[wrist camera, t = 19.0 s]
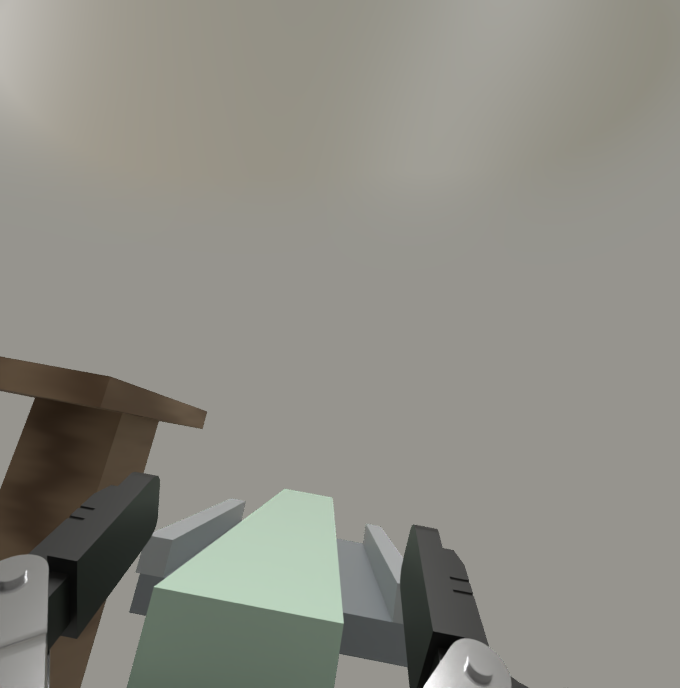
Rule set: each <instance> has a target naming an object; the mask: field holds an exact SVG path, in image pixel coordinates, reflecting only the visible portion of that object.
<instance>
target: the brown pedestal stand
mask: <svg viewBox="0 0 680 688" xmlns="http://www.w3.org/2000/svg"><path fill="white" fill-rule="evenodd" d="M0 391H4V392H9V393H14V394H19V395H24V396H29V397H34V398H35V400H34V402H33V405H32V408H31V410H30V413H29V415H28V418H27V421H26V423H25V426H24V429H23V431H22V434H21V437H20V439H19V442H18V444H17V447H16V449H15V452H14V455H13V457H12V460H11V463H10V465H9V468H8V470H7V473H6V476H5V478H4V481H3V484H2V486H1V489H0V561H1V560H4V559H7V558H10V557H13V556H18V555H26V554H29V553H30V552H31V551H32V550H33V549H34V548H35V547H36V546H37V545H38V544H39V543H41V542H42V541H43V540H44V539H45V538H46V537H47V536H48V535H49V534H50V533H51V532H53V531H54V530H55V529H56V528H57V527H58V526H59V525H60V524H61V523H62V522H63V521H64V520H66V519H67V518H69V517H70V515H71V514H72V513H73V512H74V511H75V510H76V509H78V508H80V506H81V505H82V504H83V503H84V502H85V501H86V500H87V499H88V498H90V497H91V496H92V495H93V494H94V493H96V492H98V491H100V490H102V489H104V488H106V487H108V486H110V485H114V486H119V485H120V484H121V483H122V482H123V481H124V480H125V479H126V478H127V477H128V476H129V475H130V474H131V473H132V472H139V473H144V469H145V466H146V463H147V459H148V456H149V452H150V449H151V446H152V442H153V439H154V435H155V432H156V428H157V425H158V422H159V421H162V422H167V423H173V424H178V425H184V426H190V427H195V428H200V429H202V428H203V425H204V421H205V417H206V414H207V412H206V411H204V410H201V409H199V408H196V407H193V406H190V405H188V404H185V403H182V402H179V401H176V400H173V399H171V398H168V397H165V396H162V395H160V394H157V393H154V392H152V391H149V390H146V389H143V388H140V387H137V386H135V385H132V384H129V383H127V382H124V381H121V380H118V379H116V378H113V377H109V376H104V375H98V374H93V373H88V372H81V371H76V370H71V369H65V368H60V367H55V366H49V365H44V364H38V363H33V362H27V361H22V360H16V359H11V358H5V357H0ZM105 602H106V600H105V601H104V603H103V604H102V605H101V607H100V608H99V610H98V611H97V612H96V614H95V615H94V616H93V618H92V619H91V621H90V622H89V623H88V625H87V626H86V627H85V629H84V630H83V631H82V633H81V634H80V636H79V637H78V638H77V639H74V638H69V637H64V636H60V637H59V638H58V639H57V641H56V642H55V643H54V645H53V646H52V647H51V648H50V688H80V687H81V683H82V680H83V677H84V673H85V670H86V666H87V663H88V659H89V656H90V653H91V649H92V646H93V643H94V639H95V636H96V632H97V629H98V626H99V622H100V619H101V615H102V612H103V608H104V605H105Z"/></svg>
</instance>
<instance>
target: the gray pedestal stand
mask: <svg viewBox="0 0 680 688" xmlns="http://www.w3.org/2000/svg"><path fill="white" fill-rule="evenodd" d="M244 507H245V501H243V500H237V499H232V498H231V499H229V500H227V501H224V502H222V503H220V504H217V505H215V506H213V507H210V508H208V509H206V510H203V511H201V512H199V513H196V514H194V515H192V516H189V517H187V518H185V519H183V520H180V521H178V522H175V523H173V524H171V525H168V526H166V527H164V528H161V529H159V530H157V531H154V532H153V534H152V536H151V538H150V540H149V541H148V543H147V544H146V545H145V547H144V548H143V549H142V551H141V555H140V559H139V562H138V566H137V569H136V573H140V576H139V579H138V583H137V587H136V590H135V593H134V597H133V601H132V604H131V608H130V611H129V612H130V613H135V614H140V615H145V616H146V614H147V610H148V607H149V603H150V599H151V596H152V592H153V588H154V586H156V585H157V584H158V583H160V582H161V581H162V580H164V579H165V578H166V577H168V576H169V575H170V574H172V573H173V572H174V571H176V570H177V569H178V568H180V567H181V566H182V565H184V564H185V563H186V562H188V561H189V560H190V559H192V558H193V557H194V556H196V555H197V554H198V553H200V552H201V551H203V550H204V549H205V548H207V547H208V546H209V545H211V544H212V543H213V542H215V541H216V540H217V539H219V538H220V537H221V536H223V535H224V534H225V533H227V532H228V531H229V530H231V529H232V528H233V527H235V526H236V525H237V524H239V523H240V522H241V520H242V515H243V511H244ZM336 541H337V552H338V564H339V575H340V586H341V598H342V609H343V621H344V625H343V632H342V638H341V645H340V652H339V654H343V655H349V656H354V657H359V658H364V659H369V660H374V661H379V662H384V663H389V664H395V665H399V666H404V667H408V665H407V655H406V644H405V634H404V624H403V613H402V603H401V592H400V574H401V567H402V562H403V557H402V556H401V554H400V553H399V552H398V550H397V549H396V547H395V546H394V545H393V543H392V542H391V540H390V539H389V538H388V536H387V535H386V533H385V532H384V531H383V529H382V528H381V526H376V525H370V524H366V527H365V534H364V541H363V543H357V542H352V541H347V540H342V539H336Z"/></svg>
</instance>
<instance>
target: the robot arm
mask: <svg viewBox="0 0 680 688" xmlns="http://www.w3.org/2000/svg"><path fill="white" fill-rule="evenodd" d="M159 489H160V479H159V477H158V476H155V475H150V474H144V473H139V472H132V473H131V474H130V475H129V476H128V477H127V478H126V479H125V480H124V481H123V482H122V483H121V484H120V485H119V486H114V485H110V486H108V487H106V488H104V489H102V490H100V491H98V492H96V493H94V494H93V495H92V496H91V497H90V498H88V499H87V500H86V501H85V502H84V503H83V504H82V505H81V506H80V508H78V509H76V510H75V511H74V512H73V513H72V514H71V515H70V517H69V518H67V519H66V520H64V521H63V522H62V523H61V524H60V525H59V526H58V527H57V528H56V529H55V530H54V531H53V532H51V533H50V534H49V535H48V536H47V537H46V538H45V539H44V540H43V541H42V542H41V543H39V544H38V545H37V546H36V547H35V548H34V549H33V550H32V551H31V552H30V553H29V554H26V555H18V556H13V557H10V558H7V559H4V560H1V561H0V688H50V648H51V647H52V646H53V645H54V643H55V642H56V641H57V639H58V638H59V637H60V636H64V637H69V638H74V639H77V638H78V637H79V636H80V634H81V633H82V631H83V630H84V629H85V627H86V626H87V625H88V623H89V622H90V621H91V619H92V618H93V616H94V615H95V614H96V612H97V611H98V610H99V608H100V607H101V605H102V604H103V603H104V601H105V600H106V599H107V597H108V596H109V595H110V593H111V592H112V590H113V589H114V588H115V586H116V585H117V583H118V582H119V581H120V580H121V578H122V577H123V575H124V574H125V573H126V571H127V570H128V569H129V567H130V566H131V564H132V563H133V562H134V560H135V559H136V558H137V556H138V555H139V554H140V552H141V551H142V549H143V548H144V547H145V545H146V544H147V543H148V541H149V540H150V538H151V536H152V534H153V532H154V530H155V527H156V523H157V519H158V505H159ZM400 592H401V603H402V613H403V624H404V634H405V644H406V655H407V665H408V675H409V685H410V688H528V687H526V686H524V685H523V684H521V683H519V682H518V681H516V680H515V679H514V678H512V677H511V676H510V674H509V671H508V669H507V667H506V665H505V663H504V662H503V660H502V659H501V658H500V656H499V655H498V654H497V653H496V652H494V651H493V650H492V649H491V648H490V647H489V645H488V642H487V639H486V635H485V632H484V629H483V625H482V622H481V619H480V615H479V612H478V609H477V605H476V602H475V599H474V597H473V592H472V589H471V586H470V583H469V579H468V576H467V572H466V569H465V566H464V564H463V563H462V561H461V560H460V559H459V557H458V556H457V554H456V553H455V552H454V550H450V549H444V548H442V544H441V540H440V536H439V532H438V530H437V529H434V528H429V527H424V526H418V525H412V527H411V530H410V534H409V538H408V542H407V546H406V550H405V554H404V558H403V562H402V567H401V574H400Z"/></svg>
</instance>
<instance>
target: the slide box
mask: <svg viewBox="0 0 680 688" xmlns="http://www.w3.org/2000/svg"><path fill="white" fill-rule="evenodd" d="M343 625H344V621H343V609H342V598H341V586H340V575H339V564H338V552H337V541H336V530H335V518H334V507H333V498H332V497H327V496H321V495H316V494H310V493H305V492H299V491H294V490H288V489H284V490H283V491H281V492H280V493H279V494H277V495H276V496H275V497H273V498H272V499H271V500H270V501H268V502H267V503H265V504H264V505H263V506H261V507H260V508H259V509H258V510H256V511H255V512H253V513H252V514H251V515H249V516H248V517H247V518H245V519H244V520H243V521H241V522H240V523H239V524H237V525H236V526H235V527H233V528H232V529H231V530H229V531H228V532H227V533H225V534H224V535H223V536H221V537H220V538H219V539H217V540H216V541H215V542H213V543H212V544H211V545H209V546H208V547H207V548H205V549H204V550H203V551H201V552H200V553H198V554H197V555H196V556H194V557H193V558H192V559H190V560H189V561H188V562H186V563H185V564H184V565H182V566H181V567H180V568H178V569H177V570H176V571H174V572H173V573H172V574H170V575H169V576H168V577H166V578H165V579H164V580H162V581H161V582H160V583H158V584H157V585H156V586H154V588H153V592H152V596H151V599H150V603H149V607H148V610H147V614H146V618H145V622H144V625H143V629H142V633H141V637H140V640H139V644H138V648H137V651H136V655H135V659H134V663H133V666H132V670H131V674H130V677H129V681H128V685H127V688H334V684H335V678H336V671H337V665H338V658H339V652H340V645H341V638H342V632H343Z"/></svg>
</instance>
